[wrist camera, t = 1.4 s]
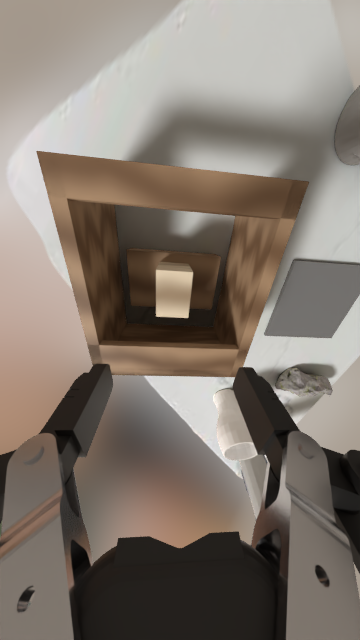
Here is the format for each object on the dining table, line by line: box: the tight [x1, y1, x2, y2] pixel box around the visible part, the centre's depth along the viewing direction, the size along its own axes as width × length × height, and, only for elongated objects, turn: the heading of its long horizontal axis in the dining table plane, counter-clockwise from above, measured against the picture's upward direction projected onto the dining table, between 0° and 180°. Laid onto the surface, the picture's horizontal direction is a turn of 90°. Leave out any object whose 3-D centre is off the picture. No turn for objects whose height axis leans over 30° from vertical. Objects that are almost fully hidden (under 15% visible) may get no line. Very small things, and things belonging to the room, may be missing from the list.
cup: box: [213, 389, 258, 460], centre depth 45 cm, size 11×11×15 cm
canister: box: [239, 455, 267, 519], centre depth 47 cm, size 10×10×30 cm
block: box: [156, 262, 193, 318], centre depth 26 cm, size 7×5×7 cm
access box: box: [37, 151, 309, 377], centre depth 26 cm, size 26×24×14 cm
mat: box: [264, 260, 360, 338], centre depth 36 cm, size 18×18×1 cm
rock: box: [275, 368, 332, 396], centre depth 45 cm, size 16×7×7 cm, turn 84°
